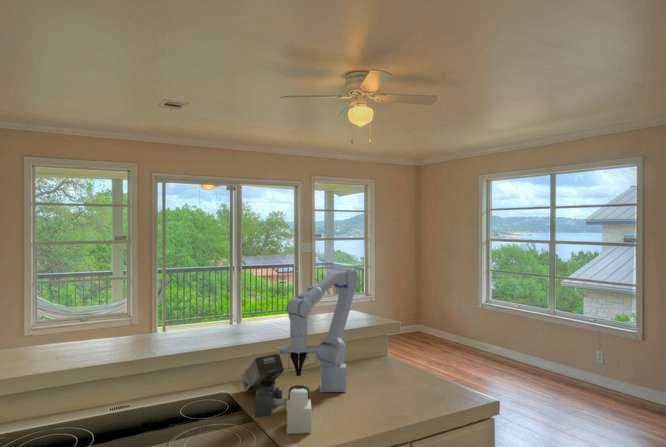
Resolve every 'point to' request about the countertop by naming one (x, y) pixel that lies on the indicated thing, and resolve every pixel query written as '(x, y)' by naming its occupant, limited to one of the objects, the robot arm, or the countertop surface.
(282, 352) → the robot arm
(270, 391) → the mount
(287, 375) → the countertop surface
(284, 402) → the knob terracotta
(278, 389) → the knob dark gray
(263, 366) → the coffee box
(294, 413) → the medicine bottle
